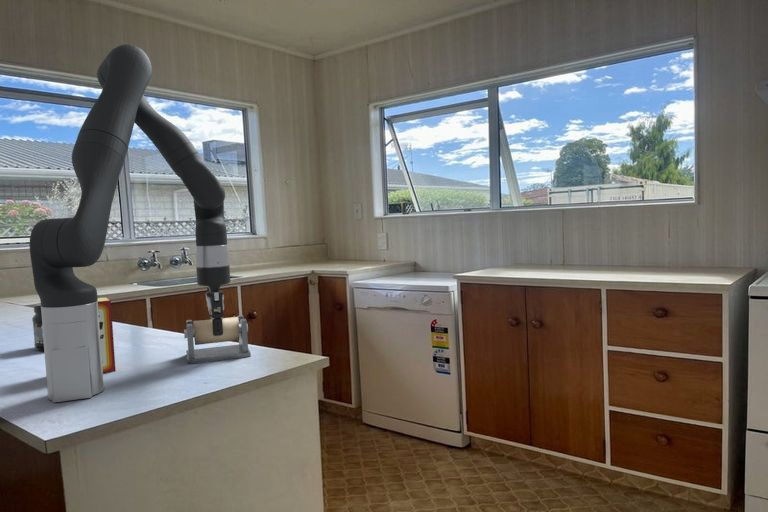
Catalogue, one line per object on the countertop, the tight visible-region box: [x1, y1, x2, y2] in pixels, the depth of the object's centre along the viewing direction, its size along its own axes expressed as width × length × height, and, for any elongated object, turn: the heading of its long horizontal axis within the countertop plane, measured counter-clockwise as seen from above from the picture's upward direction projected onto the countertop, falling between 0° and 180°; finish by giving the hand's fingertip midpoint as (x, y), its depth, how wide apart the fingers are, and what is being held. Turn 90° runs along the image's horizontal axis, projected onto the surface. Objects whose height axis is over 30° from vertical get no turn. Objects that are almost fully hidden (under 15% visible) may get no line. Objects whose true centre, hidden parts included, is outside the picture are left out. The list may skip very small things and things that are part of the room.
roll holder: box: [186, 314, 252, 365], centre depth 128 cm, size 10×14×8 cm
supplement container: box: [31, 302, 44, 352], centre depth 144 cm, size 10×10×12 cm
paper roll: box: [183, 316, 249, 346], centre depth 128 cm, size 14×6×6 cm, turn 111°
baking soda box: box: [97, 296, 117, 374], centre depth 117 cm, size 10×6×16 cm
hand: (216, 332), depth 128 cm, fingers open, 8 cm apart
